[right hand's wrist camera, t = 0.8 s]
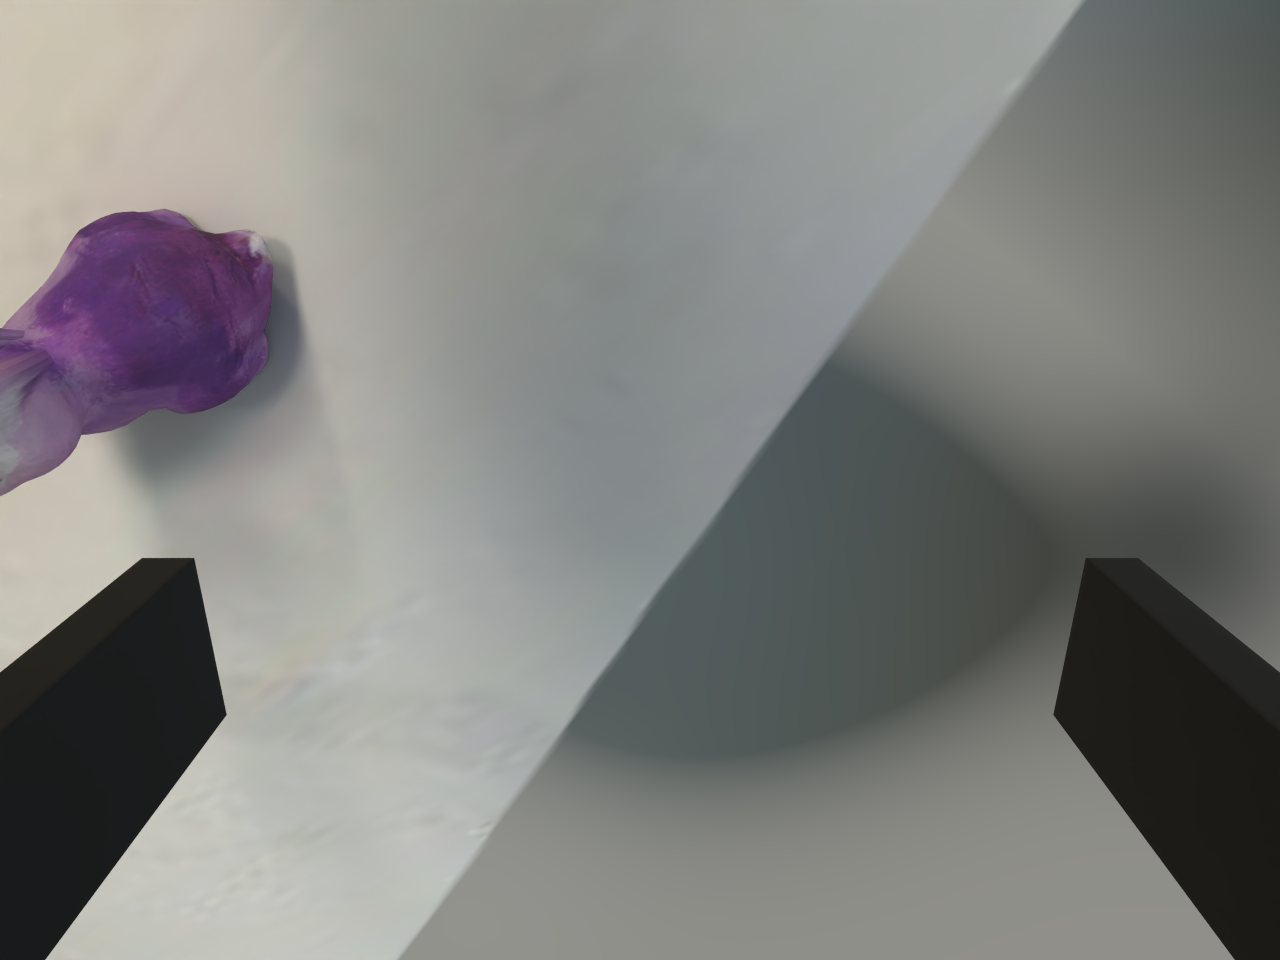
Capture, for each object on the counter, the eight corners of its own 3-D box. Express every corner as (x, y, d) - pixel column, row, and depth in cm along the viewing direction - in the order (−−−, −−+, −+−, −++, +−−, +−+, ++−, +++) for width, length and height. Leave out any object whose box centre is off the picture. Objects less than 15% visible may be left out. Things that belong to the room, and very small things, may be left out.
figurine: (83, 418, 40) (-223, 560, 26) (65, 190, 36) (-301, 208, 22) (287, 448, 40) (97, 603, 26) (290, 226, 37) (72, 266, 23)
